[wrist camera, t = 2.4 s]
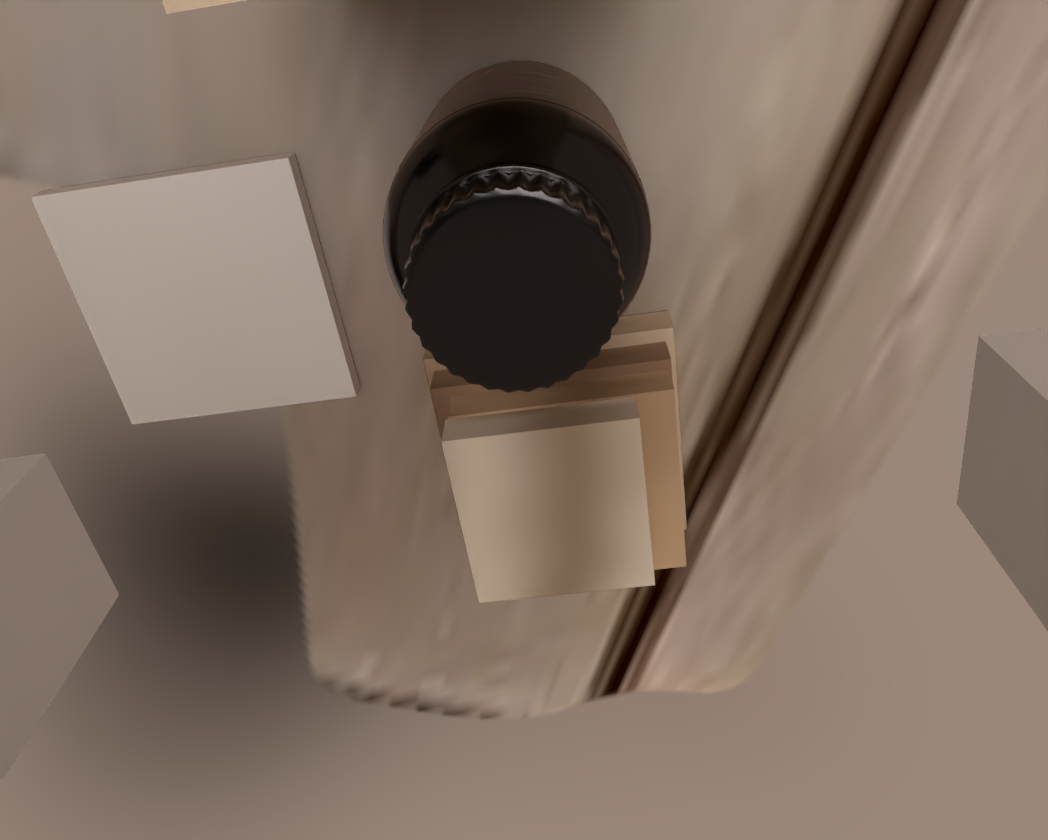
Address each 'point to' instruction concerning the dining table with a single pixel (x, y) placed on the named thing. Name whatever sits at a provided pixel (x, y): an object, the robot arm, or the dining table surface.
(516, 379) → the supplement bottle
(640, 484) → the set of wooden blocks
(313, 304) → the grey pad
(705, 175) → the dining table surface
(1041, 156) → the dining table surface
